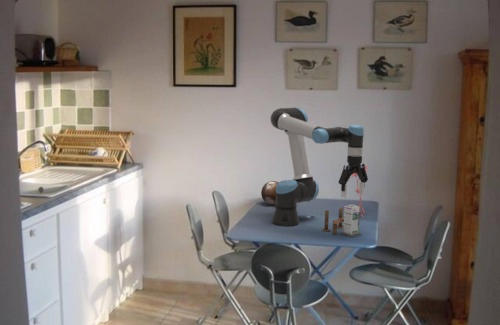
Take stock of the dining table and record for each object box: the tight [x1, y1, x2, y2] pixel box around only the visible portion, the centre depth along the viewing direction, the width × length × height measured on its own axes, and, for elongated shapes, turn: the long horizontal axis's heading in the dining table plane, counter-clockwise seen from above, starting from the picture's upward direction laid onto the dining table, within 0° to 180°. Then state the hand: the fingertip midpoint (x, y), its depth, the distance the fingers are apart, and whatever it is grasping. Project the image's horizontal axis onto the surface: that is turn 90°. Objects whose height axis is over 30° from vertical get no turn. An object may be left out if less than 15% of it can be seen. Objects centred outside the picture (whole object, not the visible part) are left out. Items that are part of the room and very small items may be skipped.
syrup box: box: [343, 204, 361, 235], centre depth 312 cm, size 6×6×14 cm
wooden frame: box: [321, 207, 344, 235], centre depth 320 cm, size 10×15×11 cm, turn 129°
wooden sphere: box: [260, 180, 279, 206], centre depth 377 cm, size 15×15×15 cm
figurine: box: [351, 165, 368, 218], centre depth 354 cm, size 15×26×35 cm, turn 163°
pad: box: [339, 230, 362, 238], centre depth 313 cm, size 8×8×1 cm
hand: (352, 195), depth 310 cm, fingers open, 13 cm apart
